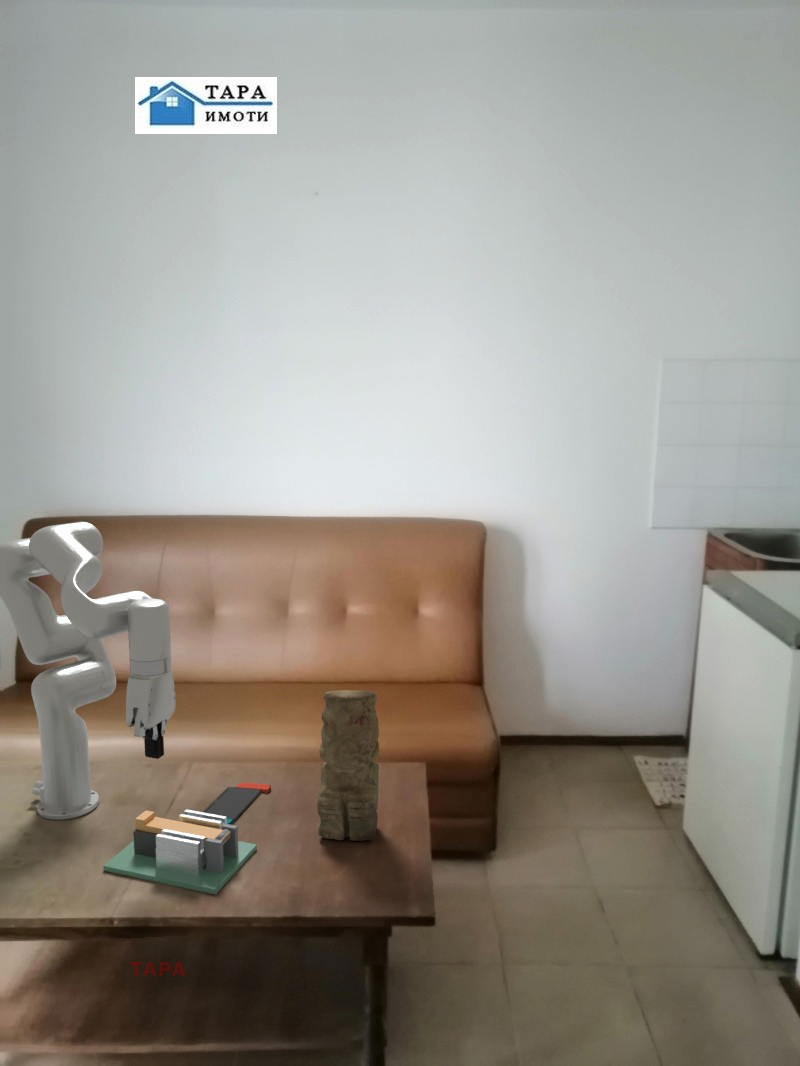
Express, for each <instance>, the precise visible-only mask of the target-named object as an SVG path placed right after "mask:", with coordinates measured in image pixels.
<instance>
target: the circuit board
mask: <svg viewBox="0 0 800 1066" xmlns="http://www.w3.org/2000/svg"><path fill="white" fill-rule="evenodd" d="M238 826H239V825H234V824H232V825H229V824H223V825H222V826H221V830H224V829H228V830H229V831H230V832H231V837H230V838H229V839H228V840H227V841H226V842H225V843H224V844H223V841H222V840H217V839H212V838H208V839H207V840H206V857H207V869H206V870H205V871H204V872H203V873H202V874H201V875H200V876H199V877H196V876H192V875H187V874H182V873H177V872H172V871H168V870H163V869H158V868H157V866H156V835H157V833H152V832H147V831H142V830H137V829H136V828H135V829H134V830H133V831H132V833H133V840H132V841H131V842H130V843H129V844H127V845H126V847H123V849H122V850H121V851H119V852H118V853H116V854H115V856H113V857H112V858H111V859H109V860H108V861H107V862H106V863H105V864H104V865H103V871H104V872H109V873H114V874H118V875H122V876H128V877H132V878H137V879H141V880H146V881H149V882H150V881H151V882H155V883H160V884H164V885H169V886H174V887H179V888H183V889H187V890H188V889H189V890H193V891H198V892H202V893H208V894H212V895H217V894H218V892H219V891H221V889H222V888H223V887H224V886H225V885H226V883H228V882H229V880H230V879H231V878H232V877H234V875H235V874H236V873H237V872H238V870H239V869H240V868H241V867H242V866H243V865H244V864H245V863H246V861H248V860H249V858H250V857H251V856H252V855H253V854H254V853H255V852H256V851H257V850H258V845H257V844H256V843H251V842H245V841H241V840H240V841H239V834H238V833H239V831H238Z"/></svg>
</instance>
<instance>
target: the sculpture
mask: <svg viewBox="0 0 800 1066" xmlns="http://www.w3.org/2000/svg"><path fill="white" fill-rule="evenodd" d="M377 698H378V696H377V693H375V692H374V691H367V690H354V689H353V690H351V689H343V690H341V689H339V690H331V691H326V692H324V693H323V700H324V701H325V706H324V707H323V711H322V714H321V720H322V728H321V731H320V736H321V743H320V745H319V757H320V759H321V761H323V762H322V763H321V764H320V784H319V785H320V786H319V788H318V789H319V790H318V795H317V803H316V804H317V805H316V806H317V807H316V808H317V814H318V817H319V818H320V824H319V827H318V829H317V833H318V836H319V837H321V838H324V839H328V840H332V839H333V840H335V841H343V840H345V838H347V837H349V840H350V841H353V842H354V841H360V842H361V841H364V842H365V841H374V840H375V838H376V833H377V827H378V822H379V821H378V819H379V818H378V816H379V815H378V807H379V775H380V774H379V773H380V772H379V770H380V768H379V767H380V766H379V764H378V763H377V762H376V761H374V760H376V759H377V757H379V753H380V743H379V737H380V729H379V728H380V727H379V719H378V716H377V710H376V709H377V708H376V705H377V704H376V703H377Z"/></svg>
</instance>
